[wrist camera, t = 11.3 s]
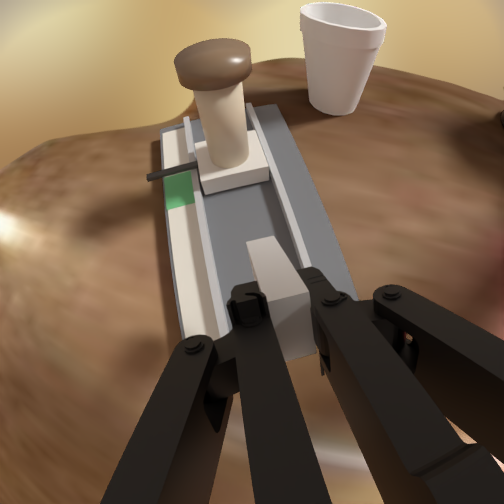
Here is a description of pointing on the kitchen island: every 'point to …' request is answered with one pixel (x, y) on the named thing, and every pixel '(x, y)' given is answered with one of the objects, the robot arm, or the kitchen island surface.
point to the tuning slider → (220, 116)
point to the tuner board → (241, 222)
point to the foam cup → (339, 53)
